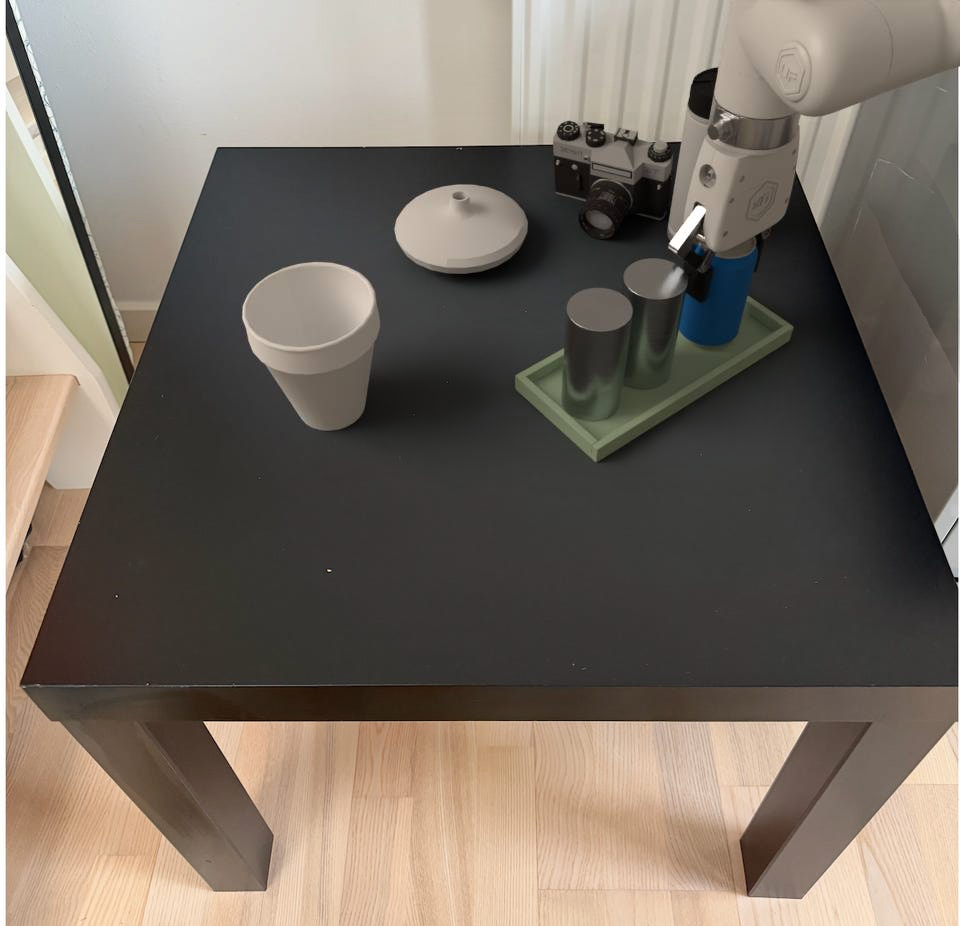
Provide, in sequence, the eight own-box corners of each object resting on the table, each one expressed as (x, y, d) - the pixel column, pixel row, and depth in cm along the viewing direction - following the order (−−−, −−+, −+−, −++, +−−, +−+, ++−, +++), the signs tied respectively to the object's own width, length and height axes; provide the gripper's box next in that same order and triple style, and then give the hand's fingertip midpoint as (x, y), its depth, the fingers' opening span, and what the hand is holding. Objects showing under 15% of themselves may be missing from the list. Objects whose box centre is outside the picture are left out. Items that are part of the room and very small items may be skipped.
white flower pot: (300, 470, 88) (272, 369, 77) (253, 392, 94) (221, 289, 84) (413, 420, 91) (400, 317, 81) (359, 348, 98) (341, 245, 88)
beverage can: (688, 304, 101) (706, 212, 91) (745, 322, 98) (769, 229, 89) (667, 340, 97) (683, 248, 88) (725, 359, 95) (748, 267, 86)
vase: (373, 236, 111) (366, 186, 105) (480, 193, 116) (479, 142, 111) (441, 306, 102) (437, 255, 97) (554, 255, 107) (556, 204, 102)
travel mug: (726, 252, 107) (762, 90, 92) (669, 252, 107) (696, 91, 92) (718, 220, 111) (751, 60, 96) (664, 220, 111) (688, 61, 96)
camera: (533, 229, 113) (528, 167, 104) (566, 170, 117) (564, 106, 109) (645, 259, 109) (649, 197, 100) (675, 197, 113) (682, 132, 104)
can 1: (632, 403, 91) (646, 312, 82) (587, 430, 89) (596, 340, 80) (593, 370, 94) (602, 279, 85) (548, 396, 92) (553, 305, 83)
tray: (789, 340, 97) (794, 326, 96) (596, 463, 87) (597, 449, 86) (704, 281, 104) (707, 267, 102) (514, 389, 94) (514, 375, 92)
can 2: (682, 372, 94) (701, 281, 85) (640, 398, 92) (654, 307, 82) (642, 341, 97) (656, 250, 88) (600, 366, 95) (610, 274, 86)
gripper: (715, 172, 73) (683, 336, 87) (854, 101, 80) (803, 265, 94) (650, 133, 77) (629, 296, 91) (788, 69, 84) (748, 231, 98)
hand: (718, 279), depth 92 cm, fingers closed on beverage can, 6 cm apart
